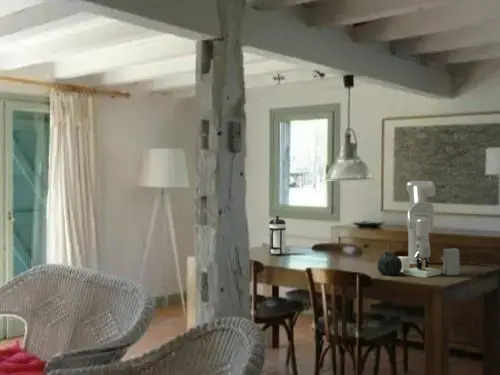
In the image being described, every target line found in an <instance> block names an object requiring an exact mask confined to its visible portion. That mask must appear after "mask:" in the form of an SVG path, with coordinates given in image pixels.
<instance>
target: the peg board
mask: <svg viewBox="0 0 500 375" xmlns="http://www.w3.org/2000/svg"><path fill="white" fill-rule="evenodd" d="M404 274H405V275H406V276H411V275H412V276H413V277H419V278H429V277H435V276H439V275H441V274H442V269H439V268H430V267H428V268H425V270H424V271H423V270H419V269H417V266H415V267H411V268H410V269H404V272H403V275H404Z"/></svg>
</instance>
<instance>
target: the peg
mask: <svg viewBox="0 0 500 375" xmlns="http://www.w3.org/2000/svg"><path fill="white" fill-rule="evenodd" d="M419 260H420V259H419ZM421 263H422V269H419V270H423V271H424V270H425V258H422V260H421Z"/></svg>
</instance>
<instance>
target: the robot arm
mask: <svg viewBox="0 0 500 375" xmlns="http://www.w3.org/2000/svg"><path fill="white" fill-rule="evenodd" d="M405 188H406V191H407V192H408V196H409V208H408V210H407V213H406V226H407V235H408V237H407V239H408V245H407V246H408V248H407V250H408V251H407V252H408V255H407V256H406V255H405V256H404V257H410V265H416V267H417V269H422V263H421V260H422V258H425V268H429V259H430V257H431V245H430V244H431V243H430V241H429V240H430V238H429V237H430V236H429V232H432V231H433V230H434V216H435V213H434V210H435V209H434V204H432V203H431V202H427V198H430V197H431V198H434V197H435V195H436V186H435V184H434V182H433V181H431V180H411V181H410V180H409V181H407V183H406V187H405ZM419 259H420V260H419Z"/></svg>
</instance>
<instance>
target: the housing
mask: <svg viewBox="0 0 500 375" xmlns="http://www.w3.org/2000/svg"><path fill="white" fill-rule="evenodd" d="M397 257H398V258H399V259H400V260H401V262H402V269H401V271H400V272H401V273H404V269H410V265H411V264H410V257H407V256H406V257H405V256H401V255H399V256H397ZM400 272H399V273H400Z"/></svg>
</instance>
